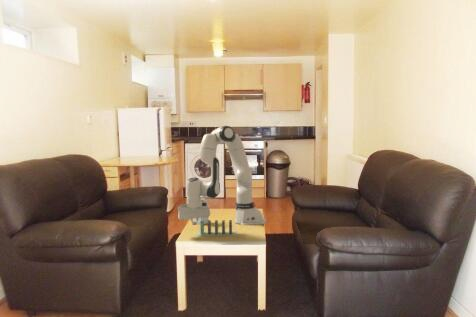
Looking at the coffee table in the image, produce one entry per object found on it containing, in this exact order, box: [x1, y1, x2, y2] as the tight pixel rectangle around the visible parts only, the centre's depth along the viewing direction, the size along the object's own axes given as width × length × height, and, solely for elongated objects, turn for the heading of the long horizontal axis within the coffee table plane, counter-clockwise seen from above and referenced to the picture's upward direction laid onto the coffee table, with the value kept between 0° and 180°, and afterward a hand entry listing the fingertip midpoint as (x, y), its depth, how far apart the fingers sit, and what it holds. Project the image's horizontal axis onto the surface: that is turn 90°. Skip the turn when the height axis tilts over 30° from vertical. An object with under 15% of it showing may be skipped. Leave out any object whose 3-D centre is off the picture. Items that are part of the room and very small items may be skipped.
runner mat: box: [195, 231, 238, 236], centre depth 219 cm, size 26×7×1 cm, turn 89°
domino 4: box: [221, 219, 226, 236], centre depth 219 cm, size 2×4×8 cm, turn 179°
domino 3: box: [214, 219, 219, 236], centre depth 219 cm, size 2×4×8 cm, turn 179°
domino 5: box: [228, 219, 233, 234], centre depth 219 cm, size 2×4×8 cm, turn 179°
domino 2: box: [207, 219, 212, 236], centre depth 219 cm, size 2×4×8 cm, turn 179°
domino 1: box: [199, 220, 205, 236], centre depth 219 cm, size 2×4×8 cm, turn 179°
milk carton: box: [193, 196, 209, 225], centre depth 242 cm, size 7×7×19 cm
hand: (194, 224), depth 219 cm, fingers closed
